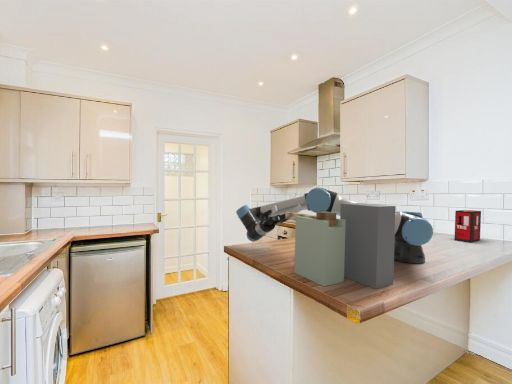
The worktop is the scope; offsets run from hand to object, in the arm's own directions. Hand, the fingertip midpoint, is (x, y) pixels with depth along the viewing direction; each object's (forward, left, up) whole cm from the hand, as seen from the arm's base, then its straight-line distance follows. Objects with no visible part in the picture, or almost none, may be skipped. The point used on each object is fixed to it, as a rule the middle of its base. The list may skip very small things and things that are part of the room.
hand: (288, 207), depth 113 cm
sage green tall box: (-15, +11, -25) cm, 31 cm away
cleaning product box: (-95, -105, -25) cm, 144 cm away
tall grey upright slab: (-31, +5, -25) cm, 41 cm away
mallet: (-10, +7, -5) cm, 13 cm away
